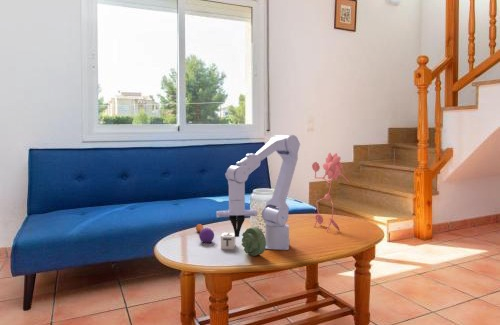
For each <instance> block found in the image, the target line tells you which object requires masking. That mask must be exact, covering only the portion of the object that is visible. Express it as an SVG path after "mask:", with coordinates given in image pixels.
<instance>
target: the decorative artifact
mask: <svg viewBox="0 0 500 325" xmlns="http://www.w3.org/2000/svg"><path fill="white" fill-rule="evenodd" d="M241 236H242V238H241V242H242V243H241V245H242V247H243V248H244V249H243V250H244V252H245V253H246V254H247V255H250V256H253V257H255V256H259V255H262V254H263V253H264V252H265V251H266V249H265V248H266V240H265V234H264V232H263V231H262V230H261V229H260V228H259V227H257V226H254V227H249V228H248V227H247V229H246V230H245V231H244V232H242V234H241Z"/></svg>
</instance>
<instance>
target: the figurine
mask: <svg viewBox="0 0 500 325" xmlns="http://www.w3.org/2000/svg"><path fill="white" fill-rule="evenodd" d="M311 167H312V170H313V171H314V179H322V180H324V181H326V182H327V183H328V184H329V189H328V192H327V193H326V194H325V195H324V197H323V198H321V199H318V200H316V208H317V214H316V215H315V218H314V219H315V223H314V225H313V227H314V228H315V227H316V225H317V223H318V224H319V225H322V224H323V223H324V217H323V216H322V215H321V214H320V211H319V203H318V202H319V201H322V200H324V199H325V200H326V201H328V200H330V202H331V204H332V207H334V202H333V201H332V198H331V194H330V191H331V188H332V181H333V180H335V181H337V180H338V178H339V176H342V177H343V178H344V179H345V181H347V182H348V183H349V184H350V183H351V182H350V181H349V179H348V178H346V176H345V175H344V174H343V173H342V169H343V168H344V165H343V162H341V156H338V153H334V154H332V153H331V152H328V154H327V156H326V157H325V163H323V164H322V168H323V169H324V170H325V172H324V175H323V177H322V176H321V177H318V176H317V172H319V171H320V169H321V166H320V165H319V163H318V162H317V161H314V162H313V163H312V164H311ZM326 177H327V178H326ZM329 180H330V181H329ZM331 213H332V214H331V217H329V221H330V222H329V221H328V222H327V221H326V223H327V224H328V226H327V229H326V233H328V231H329V229H330V226H331V225H332V226H333V227H334V228H335V229H337V231H339V232H340V228H339V224H338V223H336V221H335V220H334V218H333V216H334V208H332V211H331ZM344 227H345V228H347V226H346V225H344ZM335 235H338V234H333V236H335Z"/></svg>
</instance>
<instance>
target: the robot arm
mask: <svg viewBox="0 0 500 325" xmlns="http://www.w3.org/2000/svg"><path fill="white" fill-rule="evenodd" d="M300 146H301V143H300V140H299V138H298V136H297V135H294V134H280V133H279V134H274V135H273V137H270V138H269V141H268V142H267V143H266V144H264V145H263V146H262V147H261V148H259V150H257V151H256V153H252V152H251V153H246V154H245V157H244V158H242V159H241V160H240V161H237V162H236V164H235V165H230V166H229V167H228V168H227V169H226V172H225V173H224V175H225V178H226V180H227V185H228V209H225V210H218V211H217V210H216V218H229V221H230V223H231V225H232V228H233V231H234V232H233V233H235V238H240V232H241V229H242V227H243V224H244V222H245V217H258V211H257V210H256V209H246V208H245V207H246V204H245V203H246V201H245V200H246V197H245V194H246V190H245V188H246V186H245V185H246V184H245V183H246V181H247V180H248V179H249V175H251V173H252V172H254V171H255V170H256V169H258V168H259V167H260V166H261V163H262V162H261V161H264V159H266V158H268V157H269V156H270V155H272V154H273V153H274V152H276V153H277V154H278V155H279V156H280V157H281V159H282V163H281V166H280V168H279V173H278V175H277V176H278V177H277V179H276V183H275V185H274V190H273V193H272V197H271V198H270V199H269V200H267V201H266V203H265V205H264V207H263V209H262V210H261V218H262V220H263V221H264V224H265V234H264V236H265V240H266V248H265V250H277V251H278V250H281V251H286V250H287V251H288V250H290V249H289V248H290V246H289V245H290V244H291V242H290V240H291V239H290V225H289V224H287V222H288V220H289V211H290V207H289V205H288V203H287V198H288V193H289V191H290V187H291V184H292V180H293V178H294V173H295V170H296V167H297V164H298V163H297V162H298V159H299V158H298V156H299V155H298V154H299V151H300Z"/></svg>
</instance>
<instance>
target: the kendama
mask: <svg viewBox="0 0 500 325" xmlns="http://www.w3.org/2000/svg"><path fill="white" fill-rule="evenodd" d="M195 230H196V231H197V232H199V235H198V236H199V237H198V238H199V239H200V241H201V242H202V243H203V244H208V243H209V244H210V243H211V242H213V240H214V238H215V233H214V231H213V230H212V229H211V228H208V227H205V228H204V226H203V224H201V223H198V224H197V225H196V226H195Z"/></svg>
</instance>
